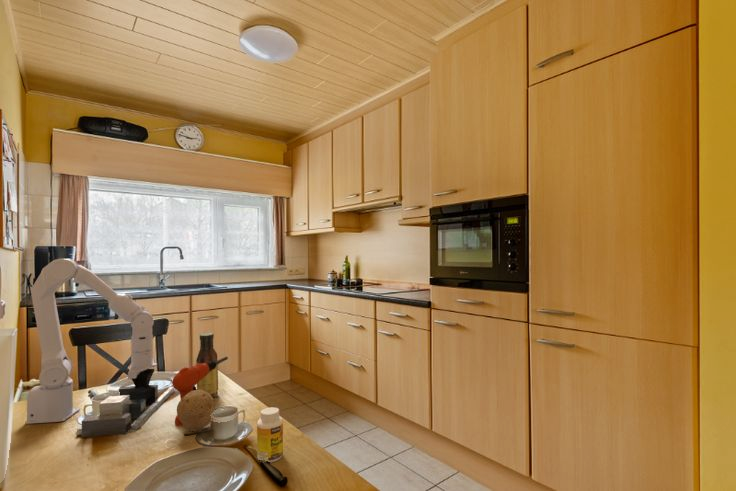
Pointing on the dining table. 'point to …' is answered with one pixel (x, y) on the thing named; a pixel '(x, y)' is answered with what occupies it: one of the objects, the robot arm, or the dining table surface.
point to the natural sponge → (195, 410)
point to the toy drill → (192, 379)
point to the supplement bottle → (270, 435)
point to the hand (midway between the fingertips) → (142, 394)
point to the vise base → (118, 420)
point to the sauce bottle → (204, 356)
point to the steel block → (114, 405)
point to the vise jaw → (139, 398)
